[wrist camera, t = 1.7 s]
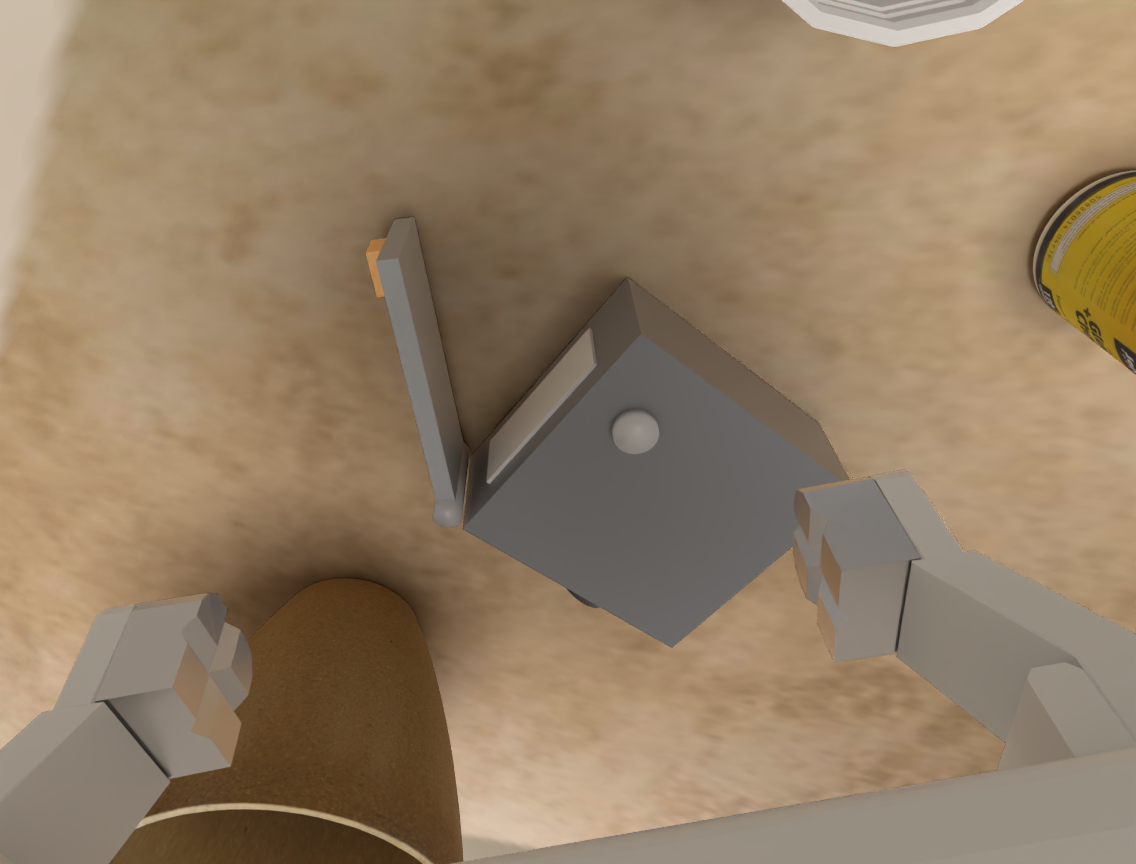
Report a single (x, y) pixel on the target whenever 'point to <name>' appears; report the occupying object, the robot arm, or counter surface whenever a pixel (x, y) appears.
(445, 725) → the plant pot
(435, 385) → the side door
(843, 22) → the plastic cup
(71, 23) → the counter surface
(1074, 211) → the pill bottle
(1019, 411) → the counter surface
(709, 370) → the box
